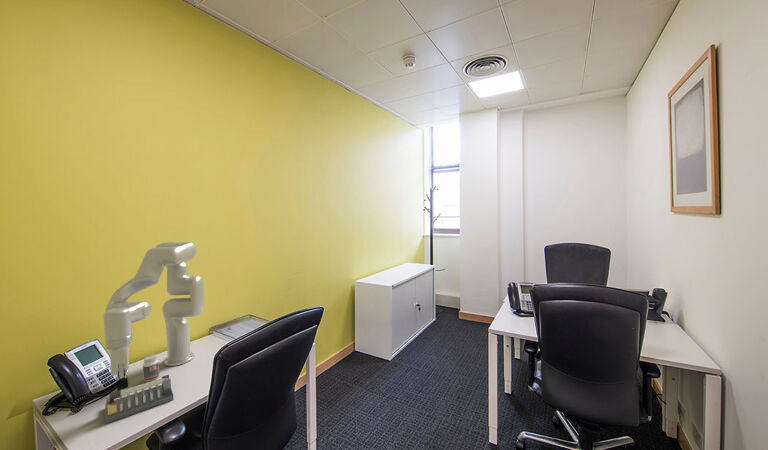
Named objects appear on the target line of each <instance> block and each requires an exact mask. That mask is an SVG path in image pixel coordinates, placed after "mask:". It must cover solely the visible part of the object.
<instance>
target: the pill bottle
mask: <svg viewBox="0 0 768 450" xmlns="http://www.w3.org/2000/svg"><path fill="white" fill-rule="evenodd" d="M157 358H158V355H157V354H156V353H154V354H153V353H152V354H149V355H146V356H144V357H143V363H142V374H143V375H142V376H143V381H144V382H151V381H154V380H157V379H159V377H160V364H159V362H160V361H159V359H157Z"/></svg>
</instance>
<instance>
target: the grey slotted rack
mask: <svg viewBox="0 0 768 450" xmlns="http://www.w3.org/2000/svg"><path fill="white" fill-rule="evenodd" d="M165 377H167V378H168V380H165V381H163V383H162V384H159V385H155V386H152V387H149V388H146V389H143V390H140V391H136V392H133V393H130V394H127V395H125V396H121V397H119V398H116V399H113V400H110V396H109V397H106V401H105V408H104V425H108V424H110V423H113V422H116V421H119V420H121V419H125V418H127V417H129V416H132V415H135V414H138V413H141V412H144V411H147V410H149V409H152V408H155V407H157V406H161V405H163V404H166V403H168V402H171V401H174V393H173V390H172V382H171V381H172V380H171V378H170V374H166V375H162V376H161V378H165Z"/></svg>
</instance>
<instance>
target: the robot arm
mask: <svg viewBox="0 0 768 450" xmlns="http://www.w3.org/2000/svg"><path fill="white" fill-rule="evenodd" d="M197 251H198V250H197V246H196V244H195V243H194V242H192V241H172V242H171V241H168V242H161V243H159V244H156V246H155V247H152V248H150V249H148V250H147V251H146V253H145V254H144V257H143V259H142V261H141V262H140V265H139V267H138V269H137V271H136V274H135V275H134V277H132V278H131V279H129V280H128V281H126V282H125V283H123V284H122V285H121V286H120V287H119V288H117V289H116V290H115V291H114V293H112V296H111V297H110V299H109V301H108V303H107V305H106V308H105V310H104V311H105V312H104V314H103V327H104V340H105V349H106V350H109V361H110V363H109V364H110V376H111V377H114V376H116V378H115V381H116V391H119V390H121V391H122V390H125V389H128V388H129V378H128V377H129V376H128V375H127V373H128V372H129V371H130V370H129V368H130V353H129V352H130V348H129V347H130V345H132V344H133V333H132V332H133V331H132V325H133V324H135V323H137V322H140V321H144V319H147V318H148V317H149V316H150V313H151V312H152V306H151V304H150V302H149V303H148V302H147V301H143V300H142V301H141V300H140V301H128V300H129V298H131V297H132V296H133V295H135V294H136V293H138V292H140V291H143V290H145V289H148V288H150V287H153V286H154V285H156V284H158V282H159V281H160V278H161V276H162V273H163V272H164V270H165V267H166V291H167V294H168V295H170V296H189V297H175V298H169V299H168V300H165V302H164V303H163V305H162V308H161V311H162V314H163V318H164V322H165V331H166V332H165V334H166V335H165V336H166V351H167V354H166V355H167V358H165V360H164V361H163V364H164V366H166V367H174V366H175V367H177V366H181V365H183V364H186V363H189V362H190V361H192V360H193V359H194V357H195V353H194V352H191V342H190V341H191V340H190V338H191V337H190V323H189V321H188V319H187V318H192V317H198V316H200V315H201V314H202V313H203V311H204V305H205V304H204V303H205V300H204V298H205V297H204V296H205V283H204V280H203V277H201V276H199V275H188V265H187V262H188V261H190V260H193V259H194V257H195V256H196V255H197Z"/></svg>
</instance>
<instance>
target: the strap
mask: <svg viewBox="0 0 768 450" xmlns="http://www.w3.org/2000/svg"><path fill="white" fill-rule="evenodd" d="M165 380H168V378H167V377H165V378H162V377H161V378H157V379H155V380H152V381H147V382H145V383H142V384H139V385H135V386H131V387H128V388H125V389H122V390H119V391H117V390H116V391H113V392H110V393H109V397H110V400H113V399H114V400H117V399H120V397H121V396H122V397H125V396H127V394H130V395H131V394H134V392H136V391H137V392H141V391H142V390H143V389H144V390H147V389H148V388H149V387H151V388H153V387H155V385H158V386H160V385H162V383H163V381H165Z"/></svg>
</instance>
